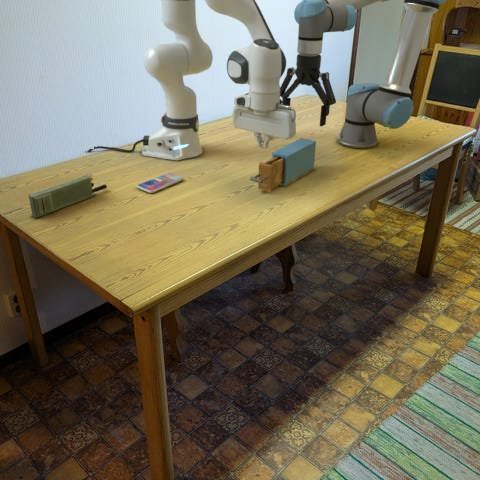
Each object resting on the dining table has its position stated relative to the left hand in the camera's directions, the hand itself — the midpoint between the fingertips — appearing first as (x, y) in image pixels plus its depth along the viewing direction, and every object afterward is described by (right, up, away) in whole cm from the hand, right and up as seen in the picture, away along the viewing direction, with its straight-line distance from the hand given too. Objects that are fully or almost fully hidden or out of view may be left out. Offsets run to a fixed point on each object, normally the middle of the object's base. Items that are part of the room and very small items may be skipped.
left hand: (262, 147), depth 151 cm
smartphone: (-33, -10, +14) cm, 37 cm away
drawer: (+5, -9, +13) cm, 16 cm away
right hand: (+14, +12, +16) cm, 25 cm away
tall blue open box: (+11, -6, +21) cm, 25 cm away
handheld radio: (-57, -17, +1) cm, 59 cm away
